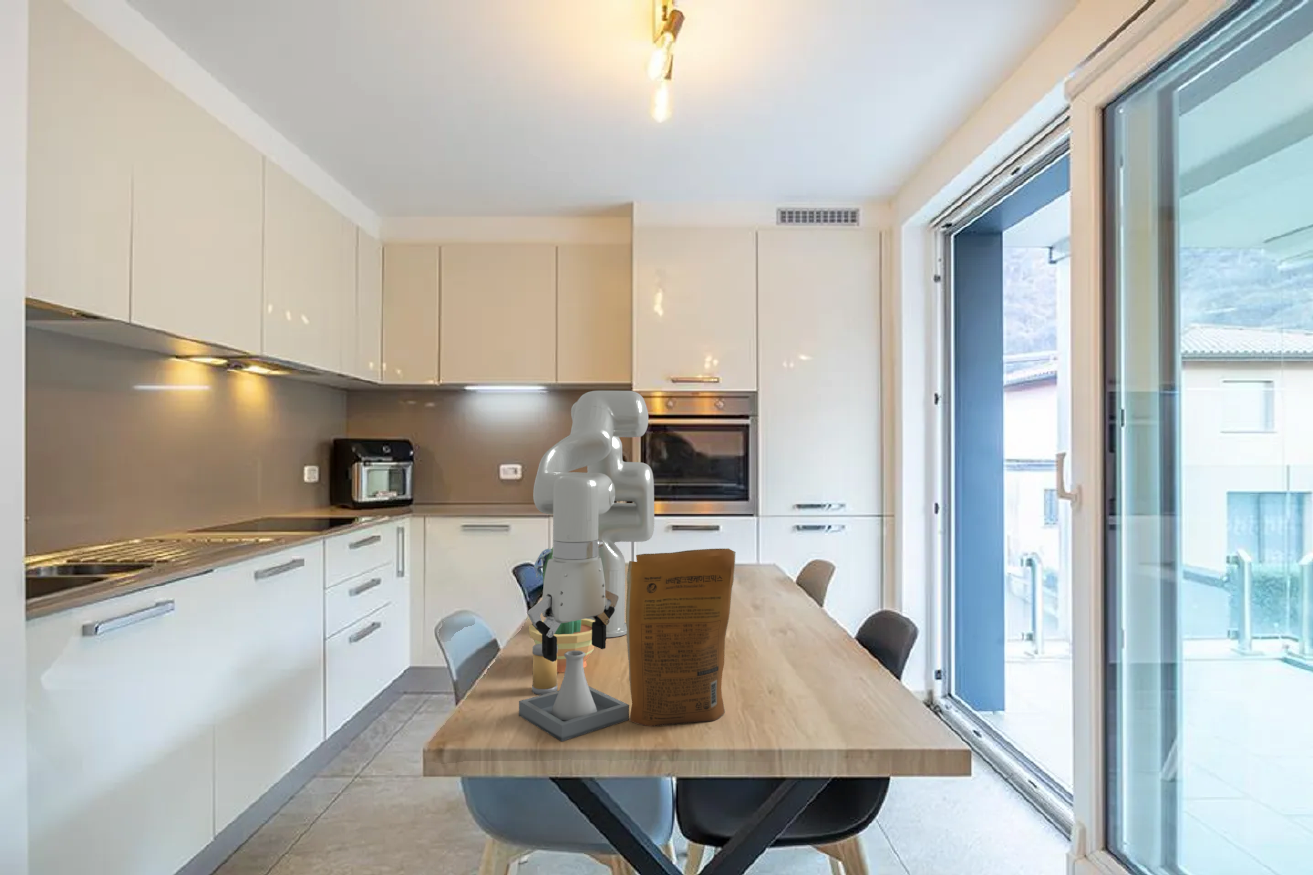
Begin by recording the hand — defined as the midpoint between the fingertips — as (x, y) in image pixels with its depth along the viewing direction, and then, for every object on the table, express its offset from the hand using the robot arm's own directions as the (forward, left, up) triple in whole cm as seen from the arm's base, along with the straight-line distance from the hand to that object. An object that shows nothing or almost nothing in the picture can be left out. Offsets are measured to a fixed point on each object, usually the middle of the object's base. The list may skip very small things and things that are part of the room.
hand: (574, 652), depth 109 cm
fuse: (-13, +3, -10) cm, 17 cm away
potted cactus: (-23, +14, -11) cm, 29 cm away
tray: (+1, 0, -10) cm, 10 cm away
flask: (0, 0, -10) cm, 10 cm away
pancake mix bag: (+12, +12, -11) cm, 21 cm away
